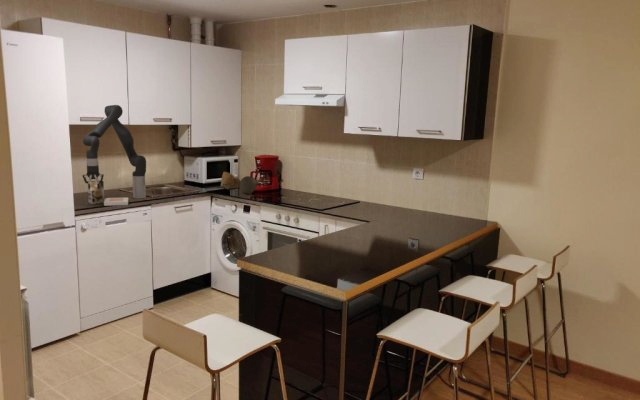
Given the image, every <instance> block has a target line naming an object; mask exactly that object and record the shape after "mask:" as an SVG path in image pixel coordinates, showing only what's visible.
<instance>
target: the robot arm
mask: <svg viewBox="0 0 640 400" xmlns="http://www.w3.org/2000/svg"><path fill="white" fill-rule="evenodd" d="M104 114H105V116H106V117H105V118H104V119H102V120H101V121H99V122H98V123H97V124H96V126H94V128H93V129H92V130H91V131H89V132H88V133H87V134H85V135H84V137H83V138H82V143H83V145H84V146H86V147H90V149H87V150H86V151H85V153H86V154H85V155H86V156H85V157H86V173H85V174H82V178H83V182H84V183H85V184H87V189H88V188H89V189H90V181H92V180H95V181H97V188H98V189H99V188H100V183H102V181H103V180H104V177H105V174H103V173H100V166H99V158H98V157H99V156H98V151H99V147H100V138H102V137H103V136H104V134H105V133H106V131H107V130H108V129H109V128H110V127H111V126H112V127H113V129H114V131H115V133H116V135H117V138H118V140H119V142H120V143H121V145H122V147H123V149H124V151H125V153H126V156H127V158H128V161H129V163H130V165H131V166H132V167H134V168H135V170H133V171H132V175H131V177H132V197H133V198H134V199H145V198H147V194H146V193H147V191H146V190H147V189H146V172H147V160H146V157H145V156H144V155H139V154H138V153H137V152H136V150H135V147H134V144H135V143H134V138H133V137H134V136H132V133H131V131H130V130H129V129H128V128H127V127H126V126H125V125H124V124H123V123H122V122H121V121H120V119H119V118H121V116H122V115H123V108H122V106H120V105H118V104H112V105H107V106H105V107H104ZM99 176H100V181H99ZM87 178H88V180H87Z"/></svg>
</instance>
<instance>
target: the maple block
mask: <svg viewBox="0 0 640 400" xmlns="http://www.w3.org/2000/svg"><path fill="white" fill-rule="evenodd" d="M90 191H98V188H97V181H96V180H91V181H90Z"/></svg>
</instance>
